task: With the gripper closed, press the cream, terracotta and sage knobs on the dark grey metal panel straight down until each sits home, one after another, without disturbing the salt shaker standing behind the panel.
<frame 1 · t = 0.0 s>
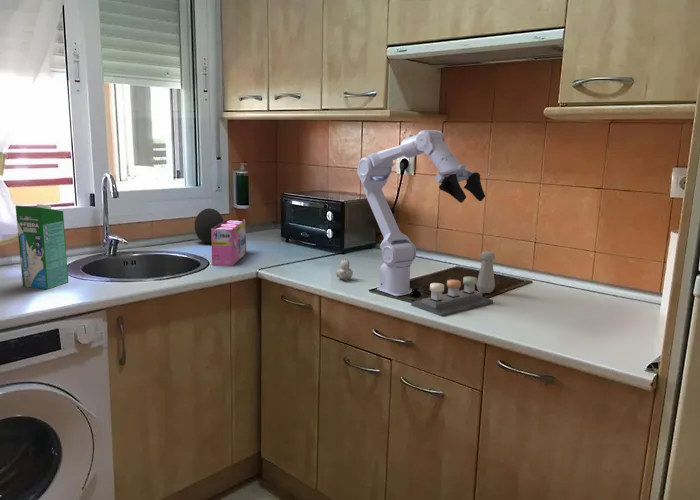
hand: (473, 199, 155), 32 cm above the worktop, tool tilted 50°, fingers open, 7 cm apart
sage knob: (469, 284, 175), point 5 cm above the worktop, slide at 0.0 cm
terracotta knob: (453, 288, 171), point 5 cm above the worktop, slide at 0.0 cm
milk carton: (46, 285, 181), on the worktop
beige lumpy figurine: (344, 280, 196), on the worktop
salt shaker: (485, 292, 186), on the worktop
decorative egg: (209, 243, 250), on the worktop
cream knob: (436, 291, 167), point 5 cm above the worktop, slide at 0.0 cm
switch panel: (452, 304, 172), on the worktop
gum box: (230, 259, 222), on the worktop
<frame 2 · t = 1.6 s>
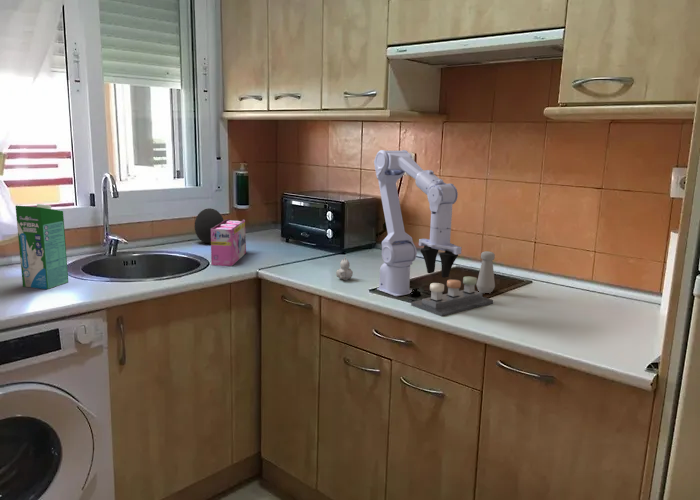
hand: (437, 274, 165), 10 cm above the worktop, tool pointing down, fingers open, 5 cm apart
nothing on the worktop moved.
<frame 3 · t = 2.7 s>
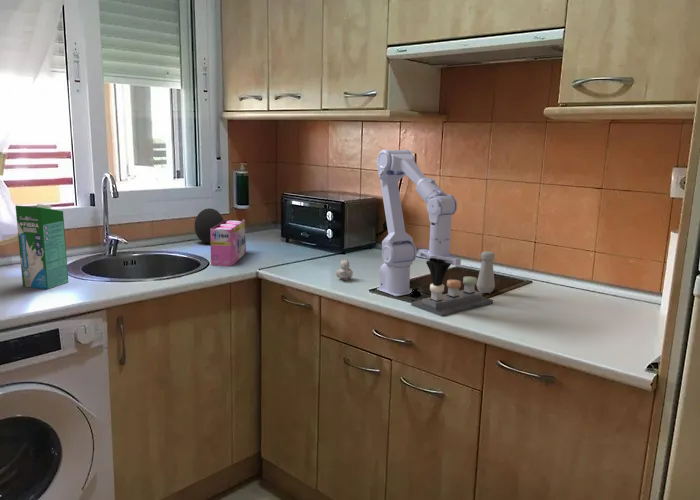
hand: (437, 285, 166), 7 cm above the worktop, tool pointing down, fingers closed, pressing on cream knob
cream knob: (436, 292, 167), point 5 cm above the worktop, slide at 0.1 cm, touching gripper
everything else where it was.
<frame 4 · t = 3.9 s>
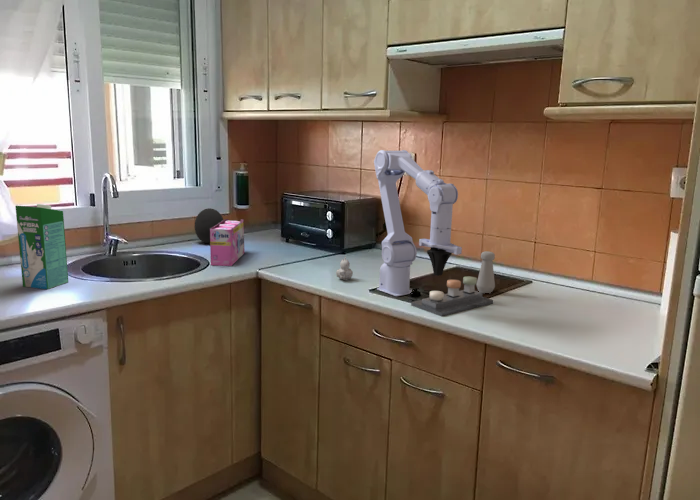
hand: (438, 274, 166), 10 cm above the worktop, tool pointing down, fingers closed
cream knob: (436, 299, 167), point 3 cm above the worktop, slide at 2.3 cm
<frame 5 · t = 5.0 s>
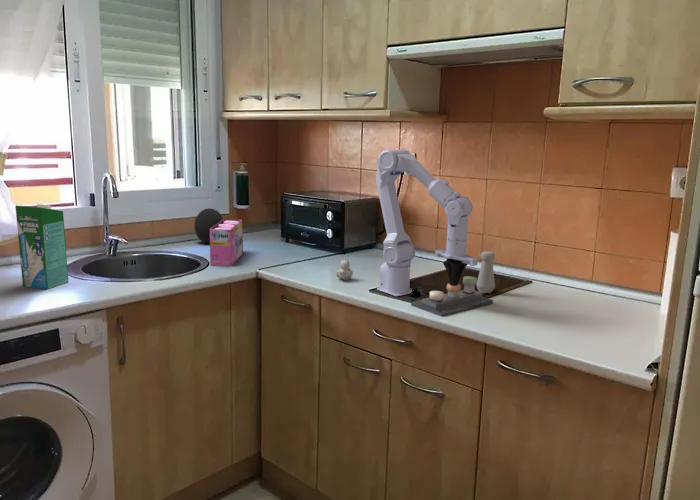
hand: (453, 285, 171), 6 cm above the worktop, tool pointing down, fingers closed, pressing on terracotta knob
terracotta knob: (453, 291, 171), point 4 cm above the worktop, slide at 1.1 cm, touching gripper
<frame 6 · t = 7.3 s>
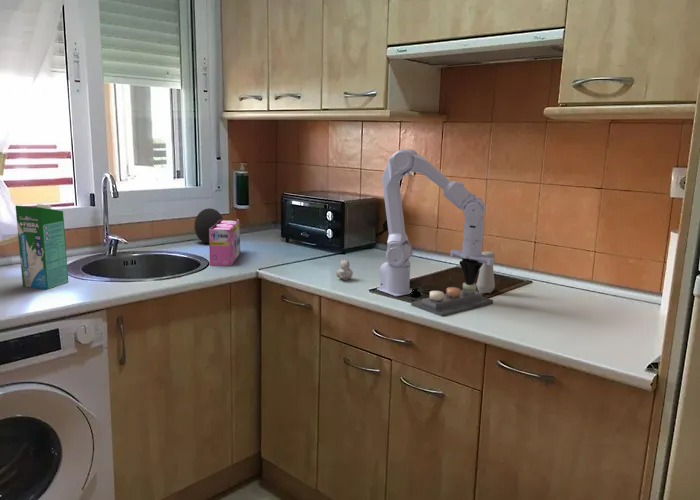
hand: (469, 284, 175), 5 cm above the worktop, tool pointing down, fingers closed, pressing on sage knob
sage knob: (469, 290, 175), point 3 cm above the worktop, slide at 1.9 cm, touching gripper
terracotta knob: (453, 295, 171), point 3 cm above the worktop, slide at 2.3 cm
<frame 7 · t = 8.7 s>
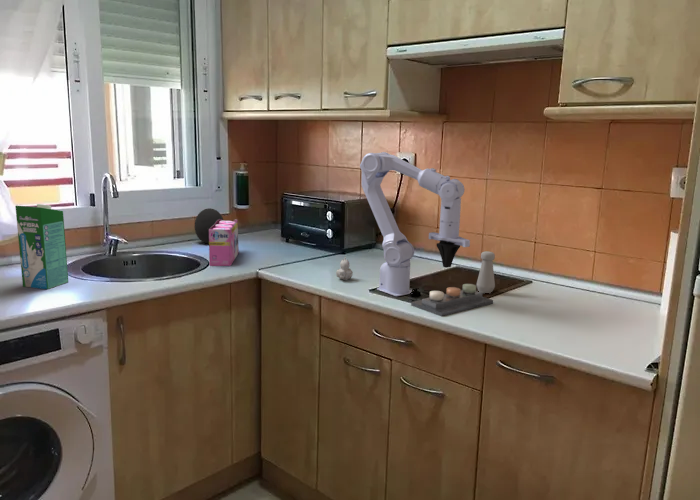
hand: (446, 266, 173), 10 cm above the worktop, tool pointing down, fingers closed
sage knob: (469, 292, 175), point 3 cm above the worktop, slide at 2.3 cm
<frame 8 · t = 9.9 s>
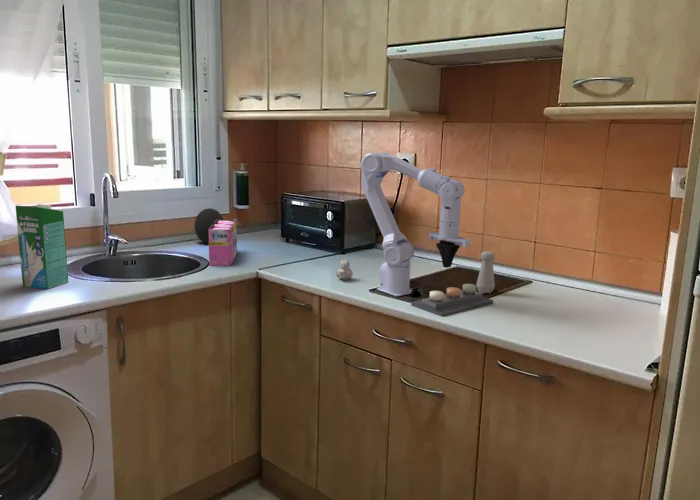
hand: (446, 266, 173), 10 cm above the worktop, tool pointing down, fingers closed
at the end: cream knob slide at 2.3 cm; terracotta knob slide at 2.3 cm; sage knob slide at 2.3 cm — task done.
